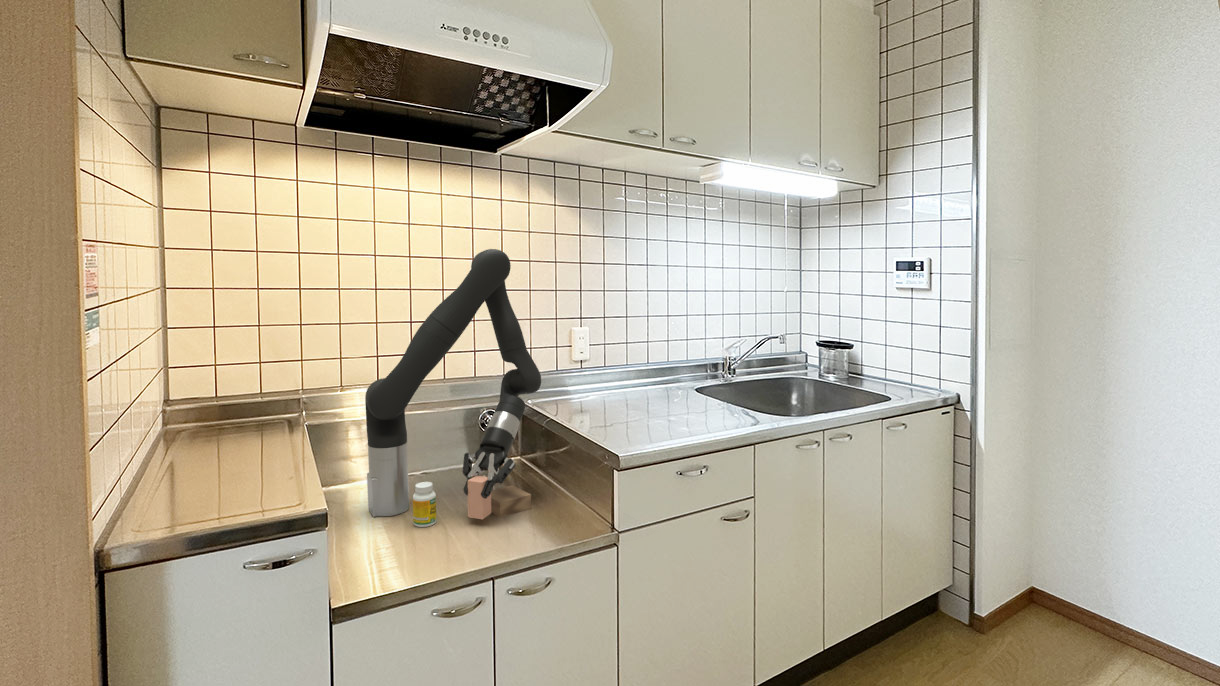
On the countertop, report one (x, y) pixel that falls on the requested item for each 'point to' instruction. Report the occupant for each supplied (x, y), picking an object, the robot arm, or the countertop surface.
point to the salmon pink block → (478, 498)
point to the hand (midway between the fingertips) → (475, 495)
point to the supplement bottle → (424, 505)
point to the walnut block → (509, 501)
